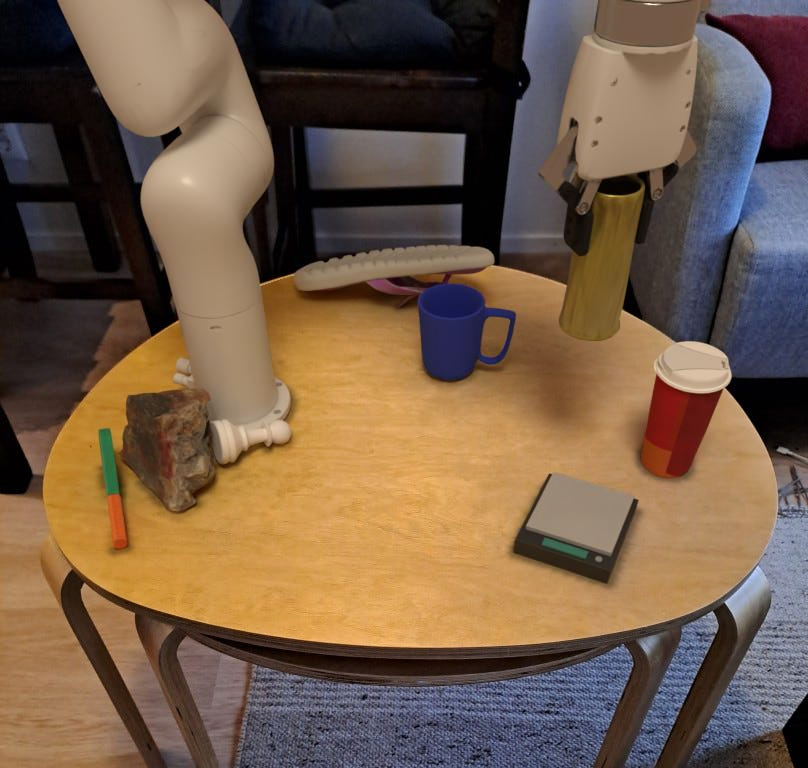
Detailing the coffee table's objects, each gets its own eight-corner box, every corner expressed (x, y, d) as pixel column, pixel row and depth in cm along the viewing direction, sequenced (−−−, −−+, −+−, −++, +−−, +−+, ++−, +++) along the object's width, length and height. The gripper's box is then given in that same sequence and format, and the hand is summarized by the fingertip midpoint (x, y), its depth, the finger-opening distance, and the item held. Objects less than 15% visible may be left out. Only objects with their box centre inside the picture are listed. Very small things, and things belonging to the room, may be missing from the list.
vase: (555, 338, 80) (577, 195, 69) (561, 305, 84) (582, 165, 73) (618, 345, 79) (650, 201, 68) (621, 312, 83) (651, 171, 72)
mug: (506, 394, 102) (513, 325, 95) (412, 383, 104) (411, 315, 96) (513, 357, 108) (520, 289, 100) (423, 347, 109) (424, 279, 102)
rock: (227, 395, 94) (152, 360, 87) (251, 471, 87) (170, 440, 80) (168, 464, 99) (92, 436, 92) (185, 541, 92) (104, 517, 85)
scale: (513, 552, 84) (515, 535, 82) (546, 486, 91) (549, 468, 89) (607, 584, 81) (611, 567, 79) (635, 512, 88) (639, 495, 86)
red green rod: (111, 452, 95) (95, 453, 94) (108, 416, 90) (92, 417, 89) (131, 558, 87) (114, 561, 87) (129, 525, 82) (112, 527, 82)
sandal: (492, 232, 116) (497, 283, 120) (298, 258, 121) (308, 307, 124) (493, 250, 105) (497, 306, 109) (279, 278, 110) (290, 330, 113)
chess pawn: (225, 454, 90) (301, 441, 93) (212, 413, 91) (288, 401, 94) (218, 471, 94) (291, 457, 98) (206, 431, 95) (279, 419, 99)
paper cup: (700, 446, 95) (735, 344, 85) (698, 490, 90) (734, 387, 80) (633, 434, 97) (658, 333, 86) (627, 477, 92) (653, 375, 81)
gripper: (711, -8, 66) (660, 210, 79) (522, 17, 62) (502, 241, 75) (770, 18, 61) (706, 245, 75) (570, 46, 57) (540, 281, 71)
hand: (604, 241), depth 75 cm, fingers closed on vase, 5 cm apart
